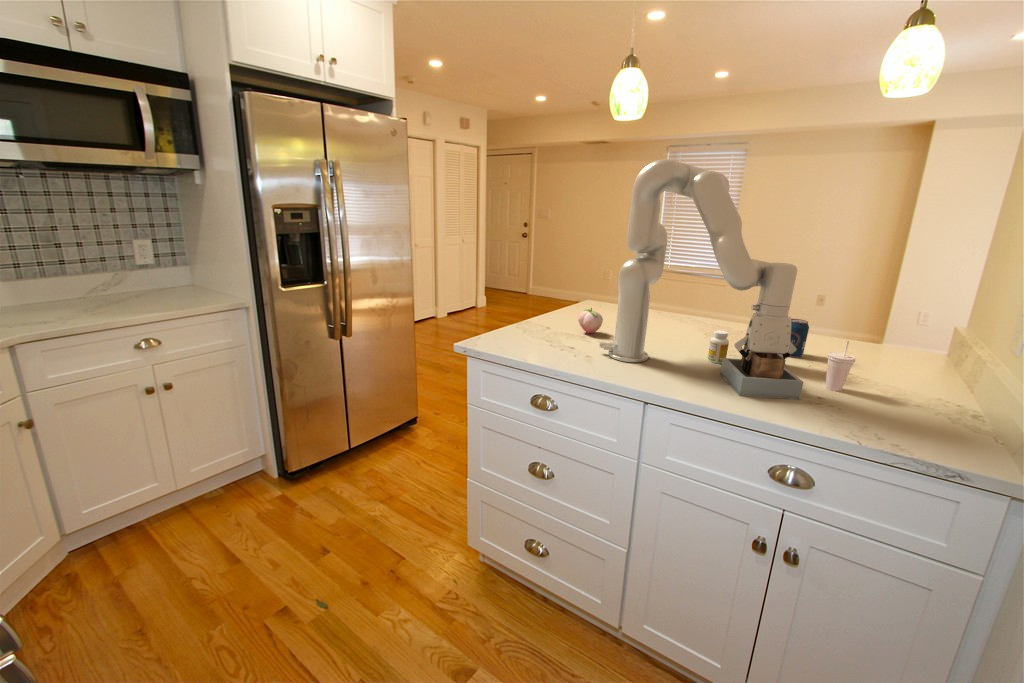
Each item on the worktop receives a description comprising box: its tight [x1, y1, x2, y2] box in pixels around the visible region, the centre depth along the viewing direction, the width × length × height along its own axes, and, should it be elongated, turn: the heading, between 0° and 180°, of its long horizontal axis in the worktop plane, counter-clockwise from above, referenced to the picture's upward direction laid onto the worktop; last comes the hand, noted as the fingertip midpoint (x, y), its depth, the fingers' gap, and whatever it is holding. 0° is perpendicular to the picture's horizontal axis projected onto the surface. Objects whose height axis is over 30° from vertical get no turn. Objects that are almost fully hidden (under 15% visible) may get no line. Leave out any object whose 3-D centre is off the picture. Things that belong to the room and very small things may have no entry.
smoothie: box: [824, 340, 857, 392], centre depth 125 cm, size 6×6×14 cm
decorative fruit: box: [578, 307, 604, 334], centre depth 172 cm, size 9×8×10 cm
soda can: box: [788, 318, 810, 358], centre depth 154 cm, size 7×7×12 cm
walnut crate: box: [740, 345, 787, 379], centre depth 126 cm, size 6×11×7 cm, turn 174°
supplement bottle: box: [707, 330, 730, 365], centre depth 146 cm, size 5×5×10 cm
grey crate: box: [720, 357, 804, 401], centre depth 127 cm, size 15×16×5 cm
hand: (759, 373), depth 126 cm, fingers closed on walnut crate, 6 cm apart
